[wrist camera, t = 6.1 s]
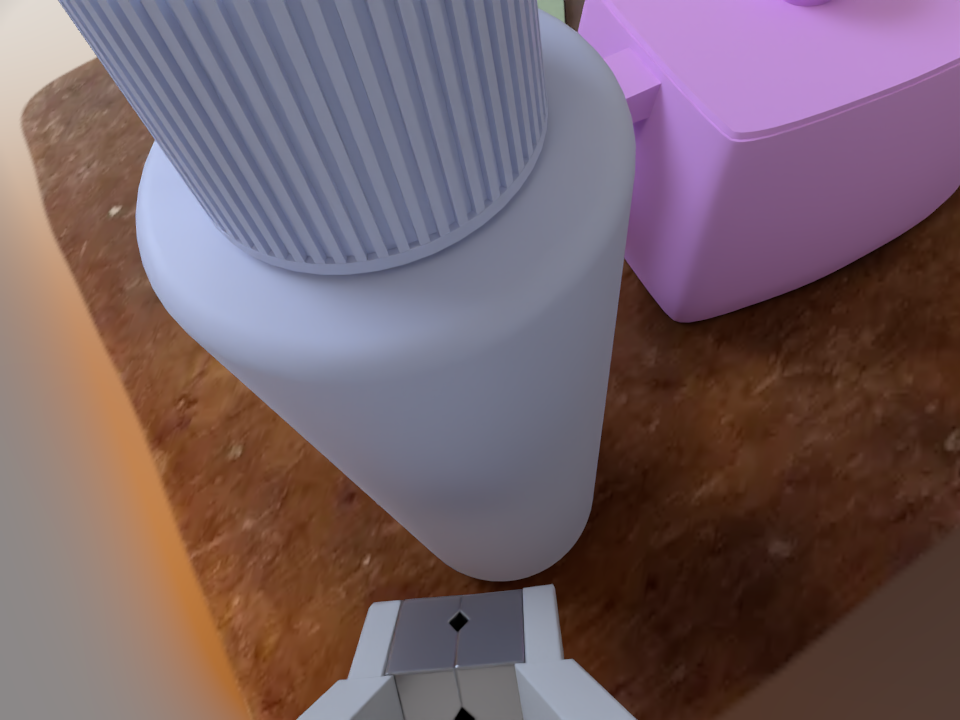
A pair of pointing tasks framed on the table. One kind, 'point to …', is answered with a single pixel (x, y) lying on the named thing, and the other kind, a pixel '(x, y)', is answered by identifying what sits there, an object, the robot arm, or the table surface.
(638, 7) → the teapot
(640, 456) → the table surface
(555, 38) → the spray bottle
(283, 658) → the table surface
